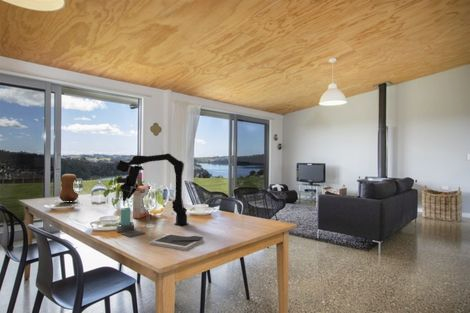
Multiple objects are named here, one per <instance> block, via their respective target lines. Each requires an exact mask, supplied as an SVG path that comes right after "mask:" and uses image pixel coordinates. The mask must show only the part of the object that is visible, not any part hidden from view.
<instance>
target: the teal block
mask: <svg viewBox="0 0 470 313" xmlns="http://www.w3.org/2000/svg"><path fill="white" fill-rule="evenodd" d="M130 222H131V207H120V222H119V223H120V225H121V226H126V225H130Z"/></svg>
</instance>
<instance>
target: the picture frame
mask: <svg viewBox="0 0 470 313" xmlns="http://www.w3.org/2000/svg"><path fill="white" fill-rule="evenodd" d="M202 242H204V236H199V235H191V236H189V235H184V234H182V235H181V234H177V233H167V234H164V235H163V236H160V237H157V238H154V239H152V240H150V241H149V245H151V246H158V247H162V248H169V249H173V250H180V251H185V252H187V251H188V250H190V249H191V248H193V247H196V246H197V245H199V244H200V243H202Z"/></svg>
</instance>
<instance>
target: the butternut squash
mask: <svg viewBox="0 0 470 313" xmlns="http://www.w3.org/2000/svg"><path fill="white" fill-rule="evenodd" d="M76 179H77V176H76V174H73V173H65V174H63V175H62V176H61V180H60V181H61V183H60V187H61V189H60V193H59V199H60V200H61V202H64V201H74V202H75V201H77V200H78V199H79V193H78V194H77V193H75V192H74V190H73V182H74V180H76Z"/></svg>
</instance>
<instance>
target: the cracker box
mask: <svg viewBox="0 0 470 313" xmlns="http://www.w3.org/2000/svg"><path fill="white" fill-rule="evenodd" d="M150 187H151V188H152V186H151V185H139V187H138V188H137V190H136V191H135V192H134V193H133V195H132V196H133V197H132V199H133V200H132V219H133V218H134V219H142V218H144V217H148V216H149V215H148V214H149V212H148V210H146V209H145V207H144V203H143V198H144V196H145V195H147V194H148V192H149V189H150ZM135 188H136V187H135Z"/></svg>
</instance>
